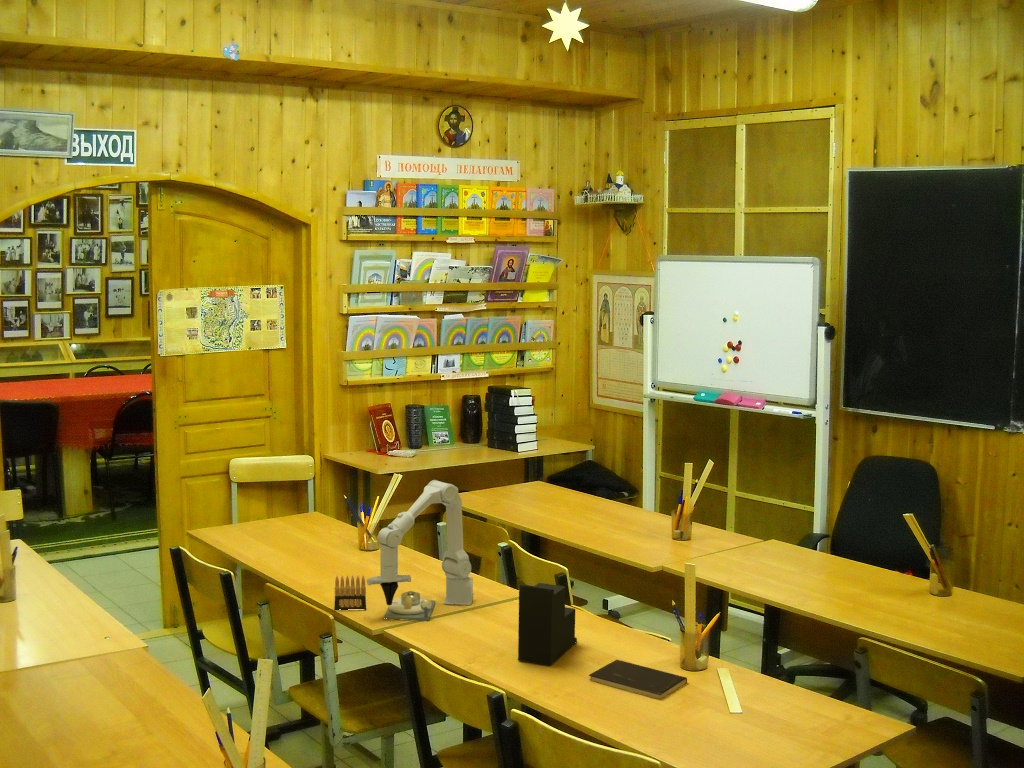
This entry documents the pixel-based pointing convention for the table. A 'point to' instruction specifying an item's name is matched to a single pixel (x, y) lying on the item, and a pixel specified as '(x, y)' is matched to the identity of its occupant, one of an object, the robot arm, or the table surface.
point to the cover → (414, 596)
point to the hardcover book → (638, 679)
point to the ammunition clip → (350, 594)
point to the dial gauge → (426, 607)
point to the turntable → (406, 606)
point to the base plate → (417, 617)
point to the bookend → (544, 623)
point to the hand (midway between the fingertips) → (389, 604)
